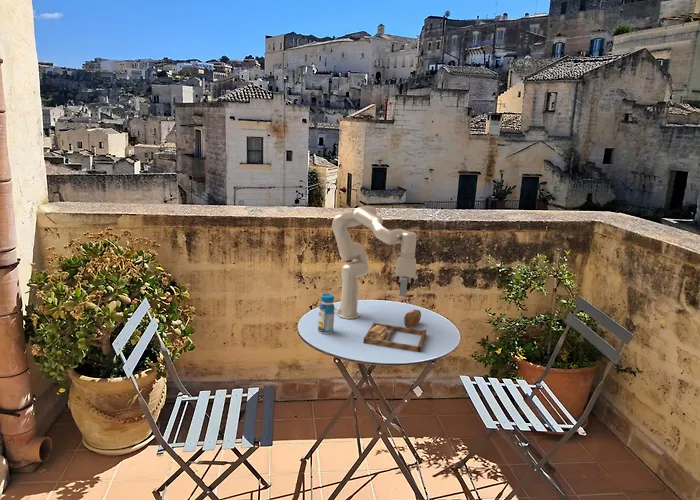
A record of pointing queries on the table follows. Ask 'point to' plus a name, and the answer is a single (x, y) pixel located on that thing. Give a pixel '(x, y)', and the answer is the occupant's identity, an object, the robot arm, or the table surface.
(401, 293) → the grey rectangular block
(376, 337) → the offcut stack
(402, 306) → the table surface
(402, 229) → the robot arm
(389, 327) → the rack
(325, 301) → the beverage bottle
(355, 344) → the table surface
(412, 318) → the tin
